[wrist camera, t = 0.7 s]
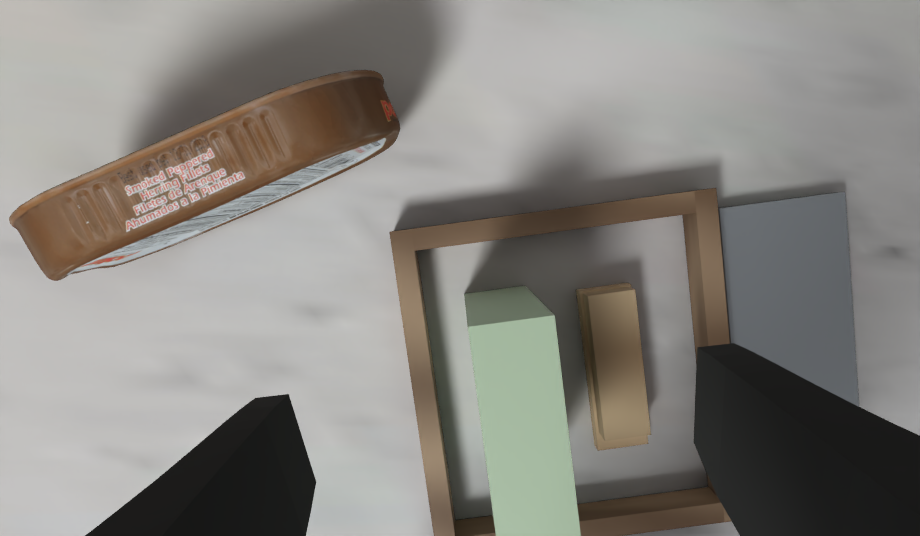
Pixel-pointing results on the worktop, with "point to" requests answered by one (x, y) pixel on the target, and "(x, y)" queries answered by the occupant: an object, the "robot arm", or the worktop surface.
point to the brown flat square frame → (698, 208)
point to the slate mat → (793, 287)
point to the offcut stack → (614, 365)
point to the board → (522, 413)
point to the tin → (209, 174)
